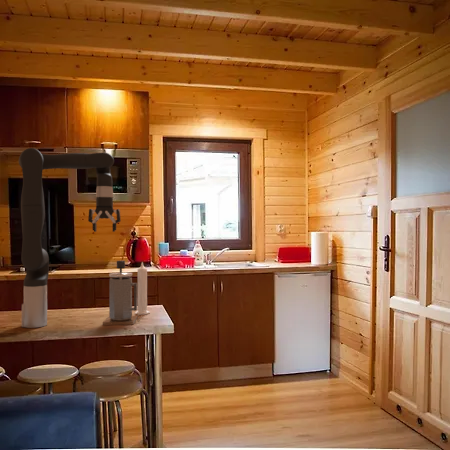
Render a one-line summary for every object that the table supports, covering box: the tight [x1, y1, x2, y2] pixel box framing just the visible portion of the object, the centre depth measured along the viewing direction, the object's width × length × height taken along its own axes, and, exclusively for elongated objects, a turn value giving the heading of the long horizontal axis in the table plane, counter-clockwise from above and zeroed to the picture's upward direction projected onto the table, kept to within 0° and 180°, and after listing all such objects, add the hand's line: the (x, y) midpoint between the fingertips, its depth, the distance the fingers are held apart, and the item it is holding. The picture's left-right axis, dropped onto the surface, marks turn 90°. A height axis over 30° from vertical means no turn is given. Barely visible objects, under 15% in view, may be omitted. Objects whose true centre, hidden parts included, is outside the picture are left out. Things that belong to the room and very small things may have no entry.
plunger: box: [108, 260, 133, 279], centre depth 194 cm, size 10×10×24 cm
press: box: [102, 276, 139, 326], centre depth 194 cm, size 14×13×19 cm
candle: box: [134, 261, 151, 316], centre depth 212 cm, size 7×7×25 cm
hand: (104, 231), depth 202 cm, fingers open, 8 cm apart
